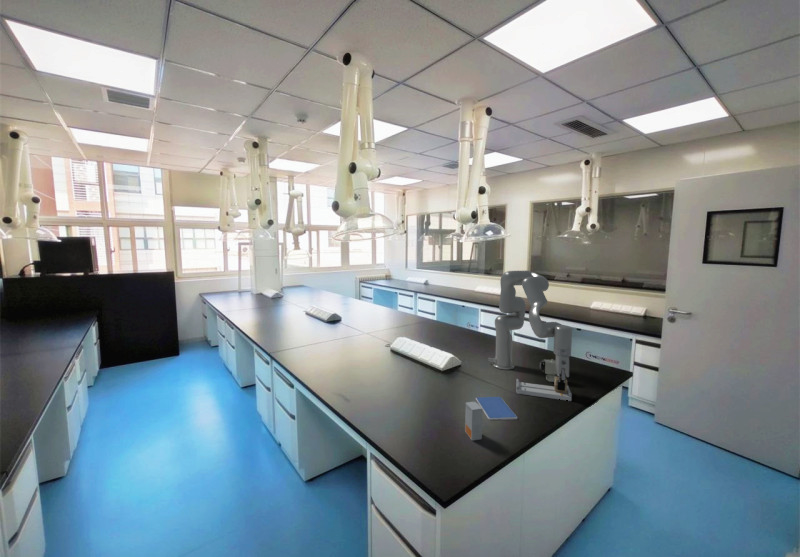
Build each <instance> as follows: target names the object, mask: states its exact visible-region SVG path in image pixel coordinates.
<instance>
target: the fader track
mask: <svg viewBox="0 0 800 557" xmlns="http://www.w3.org/2000/svg"><path fill="white" fill-rule="evenodd" d="M515 381H516V382H515V385H516V387H515V390H516V394H518V395H519V394H520V395H526V396H531V397H537V398H538V397H539V398H545V399H546V398H547V399H552V400H559V399H560V400H561V401H566V400H568V402H572V396H573V394H572V392H571V389H570V386H569V385H568V384H567V393H563V392H555V390H554V386H552V385H546V384H537V383H529V382H522V381H520V380H519V379H518V378H516V380H515Z"/></svg>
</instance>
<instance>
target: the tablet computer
mask: <svg viewBox="0 0 800 557" xmlns="http://www.w3.org/2000/svg"><path fill="white" fill-rule="evenodd" d="M475 400H476V403H477V404H478V405H479V406H480V407H481V408H482V412H483V413H484V415H485V416H486V417H487V419H488V420H489V421H505V420H508V421H509V420H510V421H511V420H512V421H513V420H518V419H519V418H518V416H517V415H516V413H515V411H513V410H512V409H511V408H510V406H509V405H508V404H507V403H506V401H505V400H504V399H503V397H501V396H482V397H481V396H480V397H478V396H477V397H475Z"/></svg>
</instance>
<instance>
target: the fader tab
mask: <svg viewBox="0 0 800 557" xmlns="http://www.w3.org/2000/svg"><path fill="white" fill-rule="evenodd" d="M558 378H559V377H555V382H553V383H554V384H553V385H554V386H553V387H554V390H555V392H563V393H567V385H568V379H567V377H565V391H563V390H558V389H557V386H558ZM560 378H561V377H560Z"/></svg>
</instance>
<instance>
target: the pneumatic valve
mask: <svg viewBox="0 0 800 557" xmlns="http://www.w3.org/2000/svg"><path fill="white" fill-rule="evenodd" d="M555 362H556V359H553V358H551V359H543V358H542V360H541V361H539V370H540V371H542V372H543V374H546V375H545V379H546V380H547V382H549V383H554V382H555V377H557V373H556V369H555Z"/></svg>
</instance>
